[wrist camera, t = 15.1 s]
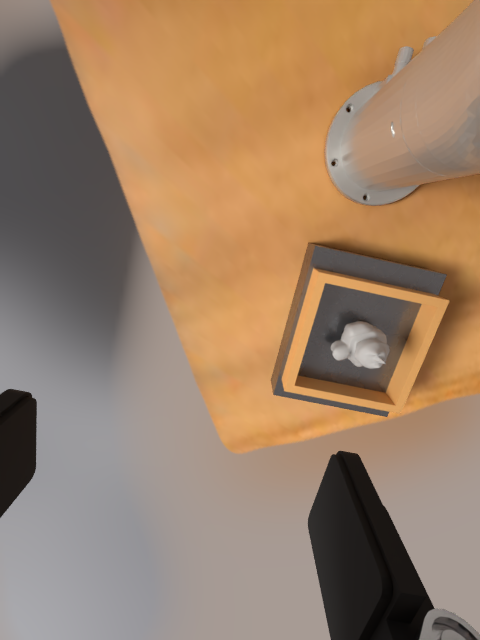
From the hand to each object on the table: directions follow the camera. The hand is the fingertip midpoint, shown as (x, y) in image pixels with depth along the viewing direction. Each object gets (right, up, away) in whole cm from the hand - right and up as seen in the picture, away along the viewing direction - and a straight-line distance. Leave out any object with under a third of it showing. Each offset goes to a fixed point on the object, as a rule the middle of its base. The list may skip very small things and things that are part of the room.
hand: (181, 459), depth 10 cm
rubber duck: (+16, +2, +30) cm, 34 cm away
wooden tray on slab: (+16, +3, +34) cm, 38 cm away
